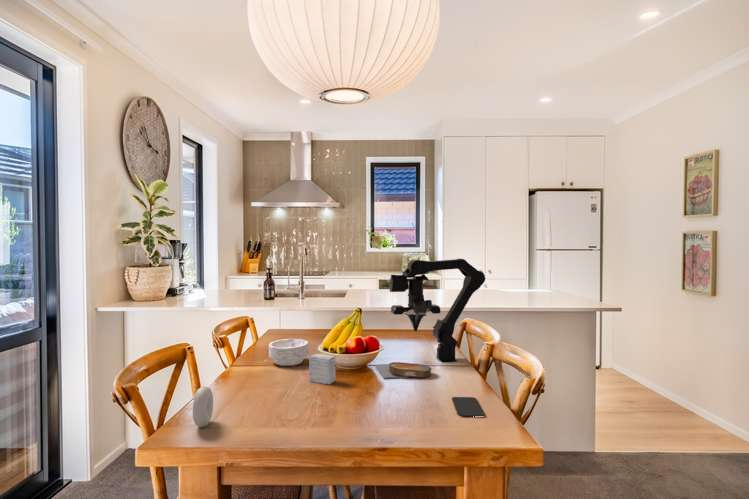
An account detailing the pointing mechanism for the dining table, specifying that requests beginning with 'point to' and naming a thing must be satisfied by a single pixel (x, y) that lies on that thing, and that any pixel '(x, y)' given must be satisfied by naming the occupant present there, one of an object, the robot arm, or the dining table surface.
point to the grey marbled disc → (203, 406)
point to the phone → (467, 406)
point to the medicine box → (322, 368)
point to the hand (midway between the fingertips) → (415, 331)
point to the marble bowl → (288, 351)
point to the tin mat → (387, 372)
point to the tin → (409, 369)
